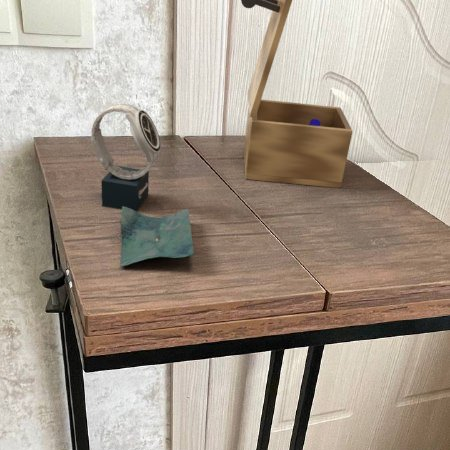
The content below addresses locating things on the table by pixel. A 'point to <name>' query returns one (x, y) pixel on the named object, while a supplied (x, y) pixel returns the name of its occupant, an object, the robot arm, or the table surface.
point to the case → (297, 144)
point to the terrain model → (154, 236)
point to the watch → (122, 176)
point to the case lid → (266, 48)
